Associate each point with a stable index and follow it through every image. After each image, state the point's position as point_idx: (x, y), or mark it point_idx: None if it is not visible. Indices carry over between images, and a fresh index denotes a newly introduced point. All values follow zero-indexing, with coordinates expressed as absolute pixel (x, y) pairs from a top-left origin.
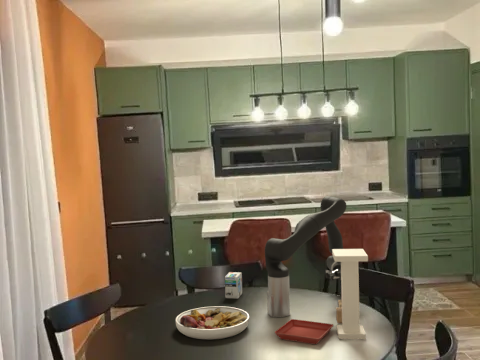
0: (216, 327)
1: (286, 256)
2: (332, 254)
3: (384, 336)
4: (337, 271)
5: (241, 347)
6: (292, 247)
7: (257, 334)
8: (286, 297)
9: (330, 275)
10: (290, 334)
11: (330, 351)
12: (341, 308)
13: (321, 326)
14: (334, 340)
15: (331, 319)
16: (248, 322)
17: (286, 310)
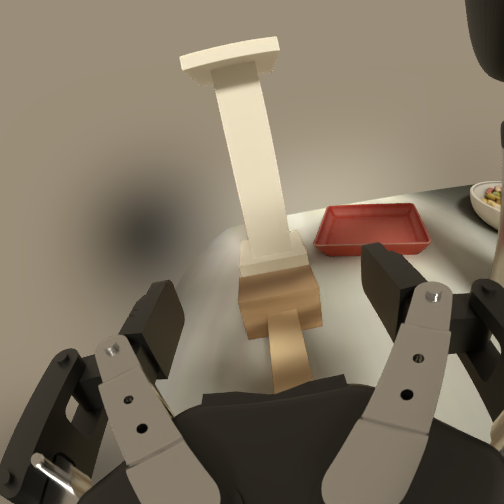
0: (489, 189)
1: (478, 59)
2: (278, 52)
3: (201, 266)
4: (367, 412)
5: (435, 199)
6: (469, 19)
7: (453, 221)
8: (498, 231)
9: (408, 263)
10: (397, 225)
11: (307, 216)
12: (296, 284)
13: (346, 249)
14: (306, 236)
15: (339, 319)
16: (484, 212)
17: (490, 276)
